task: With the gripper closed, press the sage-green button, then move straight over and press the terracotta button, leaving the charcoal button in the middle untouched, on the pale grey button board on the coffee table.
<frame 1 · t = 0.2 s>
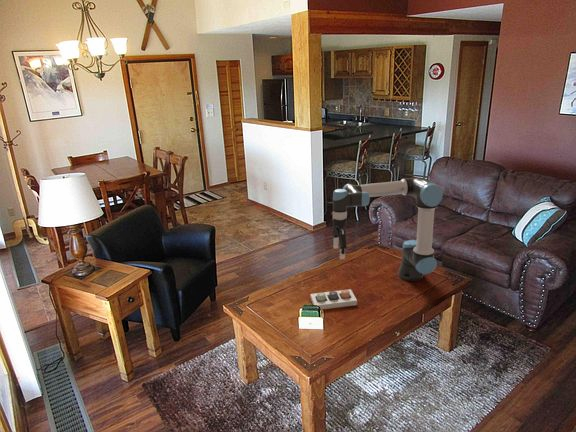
hand: (339, 253, 224), 27 cm above the table, fingers open, 13 cm apart
button sage: (321, 297, 226), point 4 cm above the table, slide at 0.0 cm
button charcoal: (333, 295, 227), point 4 cm above the table, slide at 0.0 cm
board: (333, 301, 228), on the table
button terracotta: (345, 294, 227), point 4 cm above the table, slide at 0.0 cm
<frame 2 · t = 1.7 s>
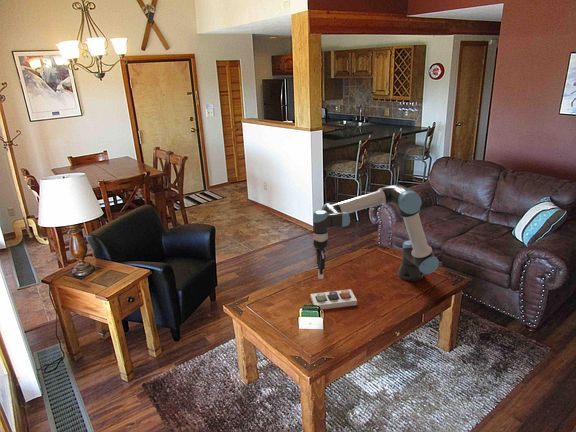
hand: (320, 278, 221), 16 cm above the table, fingers closed
nothing on the table moved.
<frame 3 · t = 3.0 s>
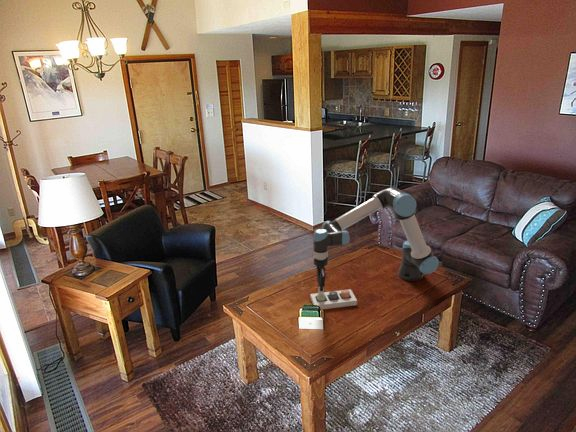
hand: (320, 294, 225), 5 cm above the table, fingers closed
button sage: (321, 297, 226), point 4 cm above the table, slide at 0.2 cm, touching gripper
everything else where it was.
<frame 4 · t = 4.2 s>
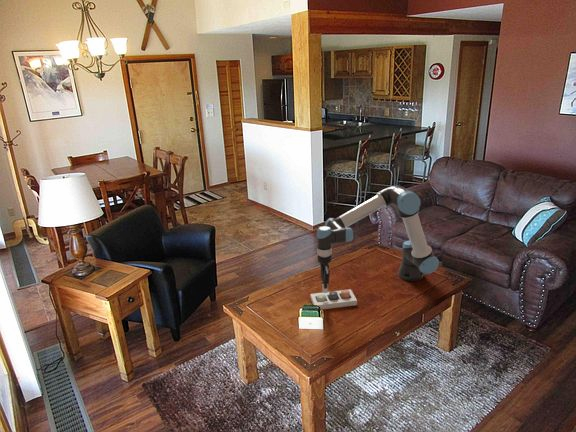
hand: (325, 292, 225), 7 cm above the table, fingers closed
button sage: (321, 299, 226), point 3 cm above the table, slide at 1.3 cm
everything else where it was.
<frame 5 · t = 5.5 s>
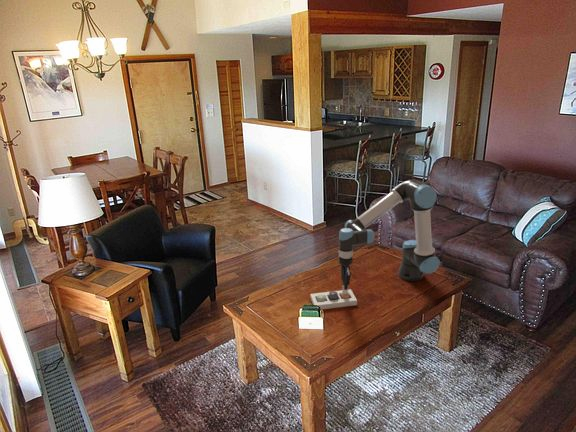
hand: (345, 293, 227), 5 cm above the table, fingers closed
button terracotta: (345, 296, 228), point 3 cm above the table, slide at 1.1 cm, touching gripper
everything else where it was.
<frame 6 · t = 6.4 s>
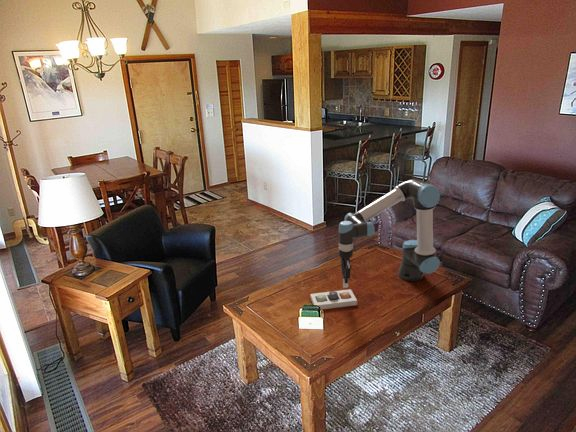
hand: (345, 286, 226), 9 cm above the table, fingers closed
button terracotta: (345, 296, 228), point 3 cm above the table, slide at 1.3 cm
everything else where it was.
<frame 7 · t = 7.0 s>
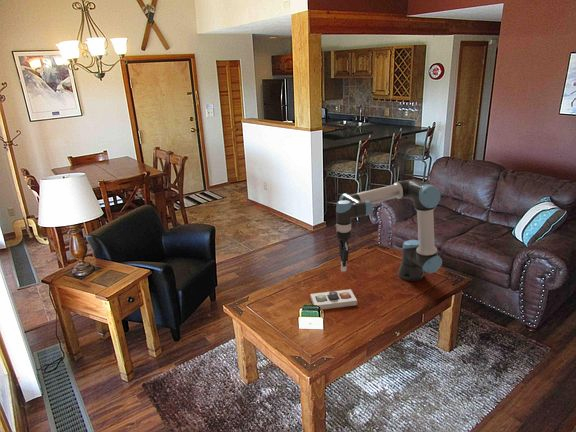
hand: (343, 270, 215), 23 cm above the table, fingers closed
nothing on the table moved.
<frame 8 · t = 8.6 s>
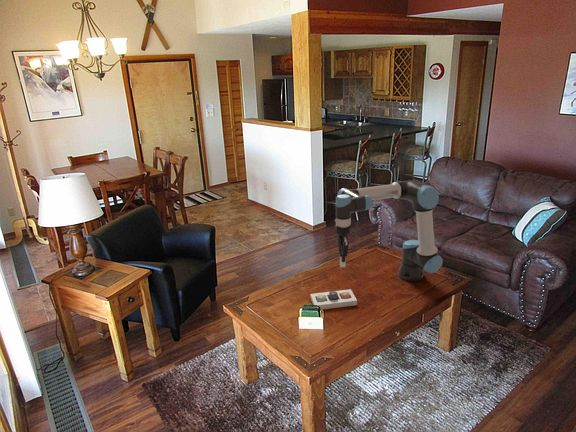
hand: (342, 266, 212), 26 cm above the table, fingers closed
nothing on the table moved.
at the end: button sage slide at 1.3 cm; button terracotta slide at 1.3 cm; button charcoal slide at 0.0 cm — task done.
